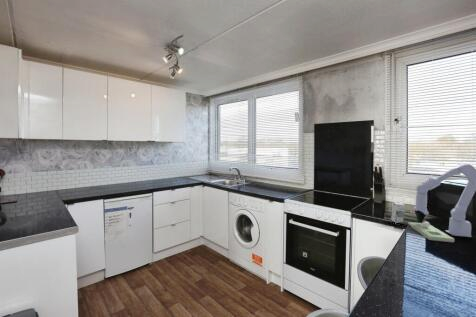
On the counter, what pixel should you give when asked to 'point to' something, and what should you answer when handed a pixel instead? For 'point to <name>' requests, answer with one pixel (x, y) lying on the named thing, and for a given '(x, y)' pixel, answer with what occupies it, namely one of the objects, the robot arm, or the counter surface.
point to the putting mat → (431, 232)
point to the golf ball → (425, 224)
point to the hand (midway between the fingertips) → (420, 222)
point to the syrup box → (397, 212)
